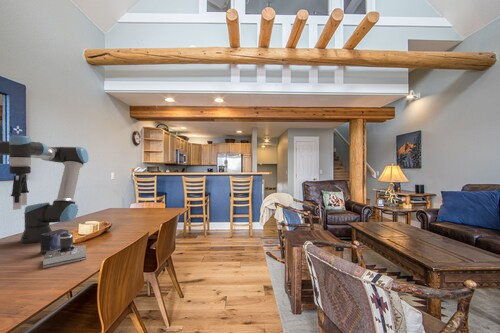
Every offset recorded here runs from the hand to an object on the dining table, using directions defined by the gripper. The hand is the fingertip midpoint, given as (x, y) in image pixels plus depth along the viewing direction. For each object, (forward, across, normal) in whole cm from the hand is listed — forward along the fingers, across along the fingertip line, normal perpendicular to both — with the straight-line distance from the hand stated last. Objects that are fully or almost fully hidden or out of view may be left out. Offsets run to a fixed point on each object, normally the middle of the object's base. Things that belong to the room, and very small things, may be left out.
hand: (20, 207), depth 111 cm
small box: (+27, -5, +13) cm, 30 cm away
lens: (+23, +15, +19) cm, 33 cm away
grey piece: (+27, +15, +19) cm, 36 cm away
